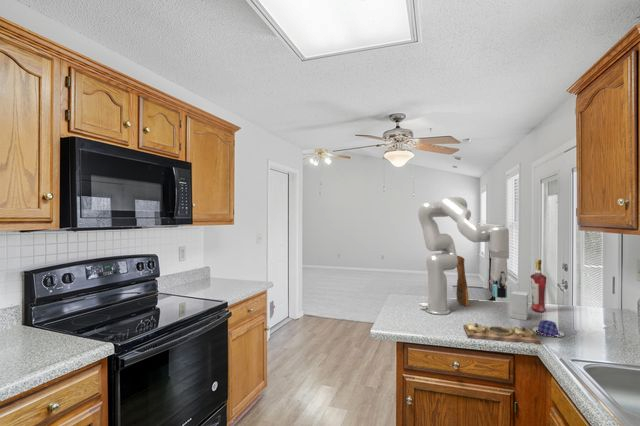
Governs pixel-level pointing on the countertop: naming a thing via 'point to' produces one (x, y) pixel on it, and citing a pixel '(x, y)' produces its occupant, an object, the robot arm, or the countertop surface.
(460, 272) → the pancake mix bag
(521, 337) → the gear board
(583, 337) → the countertop surface
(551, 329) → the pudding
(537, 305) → the liquor
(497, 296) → the loose gear
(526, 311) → the supplement box
